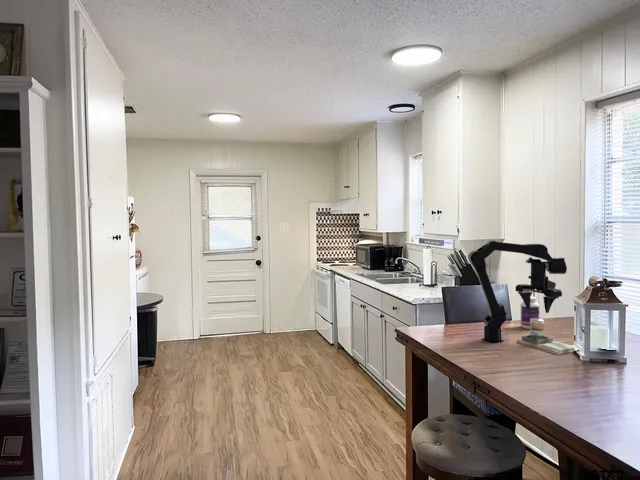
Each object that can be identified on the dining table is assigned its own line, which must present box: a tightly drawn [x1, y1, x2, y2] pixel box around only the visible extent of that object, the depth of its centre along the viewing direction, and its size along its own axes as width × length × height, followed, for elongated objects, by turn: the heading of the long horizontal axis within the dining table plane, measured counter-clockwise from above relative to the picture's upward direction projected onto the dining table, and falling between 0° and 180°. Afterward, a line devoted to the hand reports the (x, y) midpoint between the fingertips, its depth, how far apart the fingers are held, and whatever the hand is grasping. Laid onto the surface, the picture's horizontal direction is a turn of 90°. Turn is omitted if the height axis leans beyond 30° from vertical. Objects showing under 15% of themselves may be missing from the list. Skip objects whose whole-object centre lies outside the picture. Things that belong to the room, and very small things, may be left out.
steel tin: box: [529, 317, 545, 340], centre depth 192 cm, size 5×5×10 cm
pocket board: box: [516, 334, 575, 356], centre depth 188 cm, size 12×20×3 cm, turn 23°
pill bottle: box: [520, 296, 540, 330], centre depth 219 cm, size 8×8×14 cm
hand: (537, 310), depth 195 cm, fingers open, 9 cm apart
